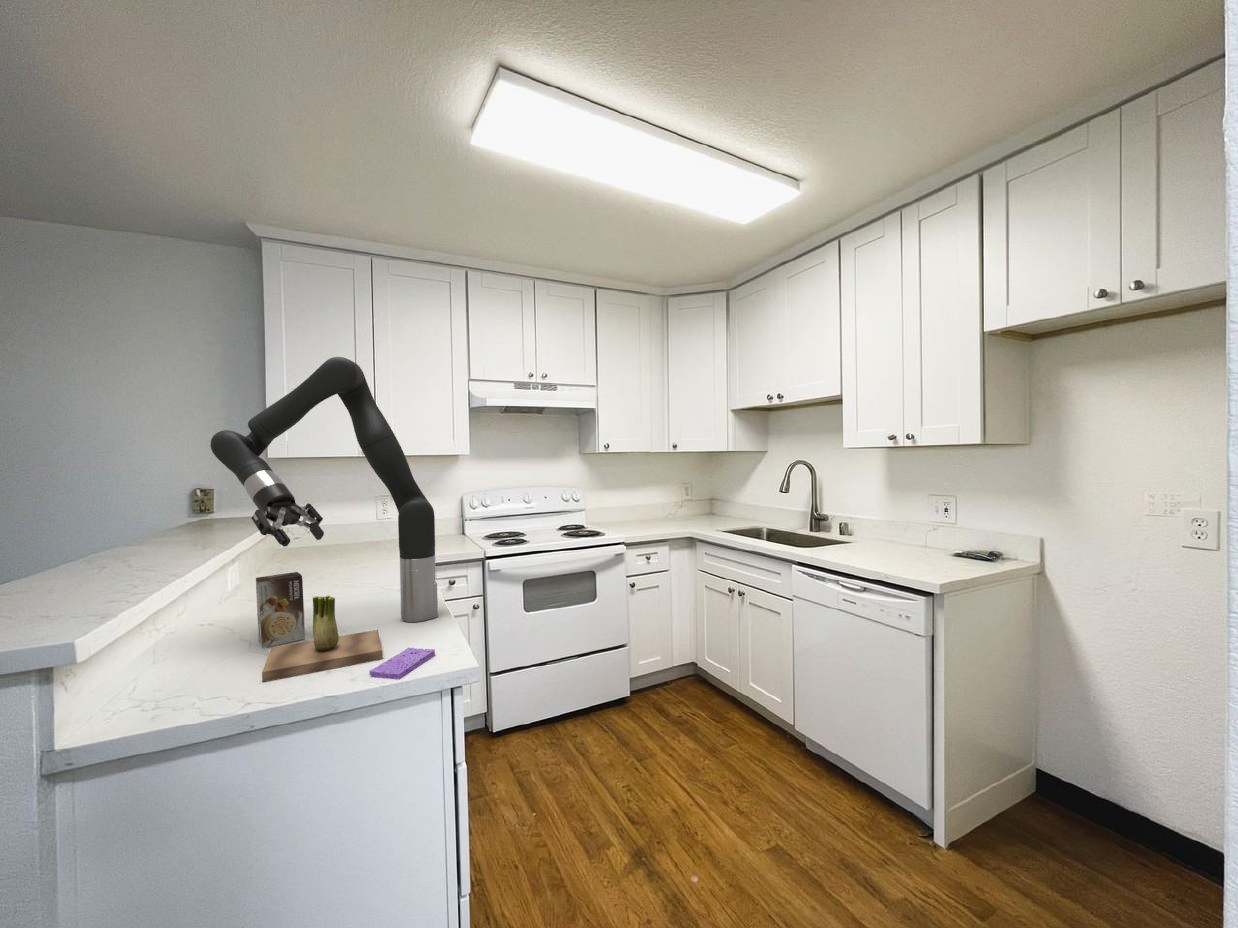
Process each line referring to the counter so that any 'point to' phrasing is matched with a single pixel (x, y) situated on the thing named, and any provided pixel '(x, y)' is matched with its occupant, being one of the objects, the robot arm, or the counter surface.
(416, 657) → the sponges
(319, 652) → the cutting board
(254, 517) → the robot arm
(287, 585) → the food box
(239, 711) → the counter surface
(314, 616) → the fennel bulb
